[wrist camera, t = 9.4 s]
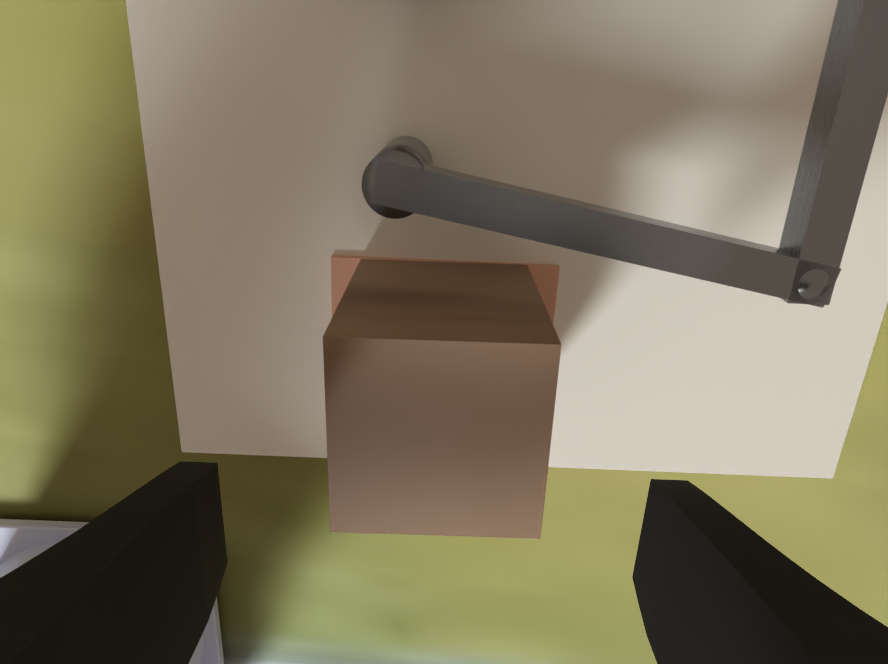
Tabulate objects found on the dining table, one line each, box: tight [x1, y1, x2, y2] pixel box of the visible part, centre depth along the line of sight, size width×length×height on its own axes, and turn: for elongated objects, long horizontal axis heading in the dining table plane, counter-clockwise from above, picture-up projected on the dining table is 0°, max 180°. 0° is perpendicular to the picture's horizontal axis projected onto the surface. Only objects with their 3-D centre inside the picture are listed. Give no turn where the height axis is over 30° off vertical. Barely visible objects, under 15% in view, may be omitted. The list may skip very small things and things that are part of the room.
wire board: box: [126, 0, 888, 478], centre depth 15 cm, size 20×18×2 cm
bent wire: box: [361, 0, 888, 308], centre depth 12 cm, size 8×9×4 cm
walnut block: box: [323, 259, 561, 539], centre depth 14 cm, size 4×4×5 cm
